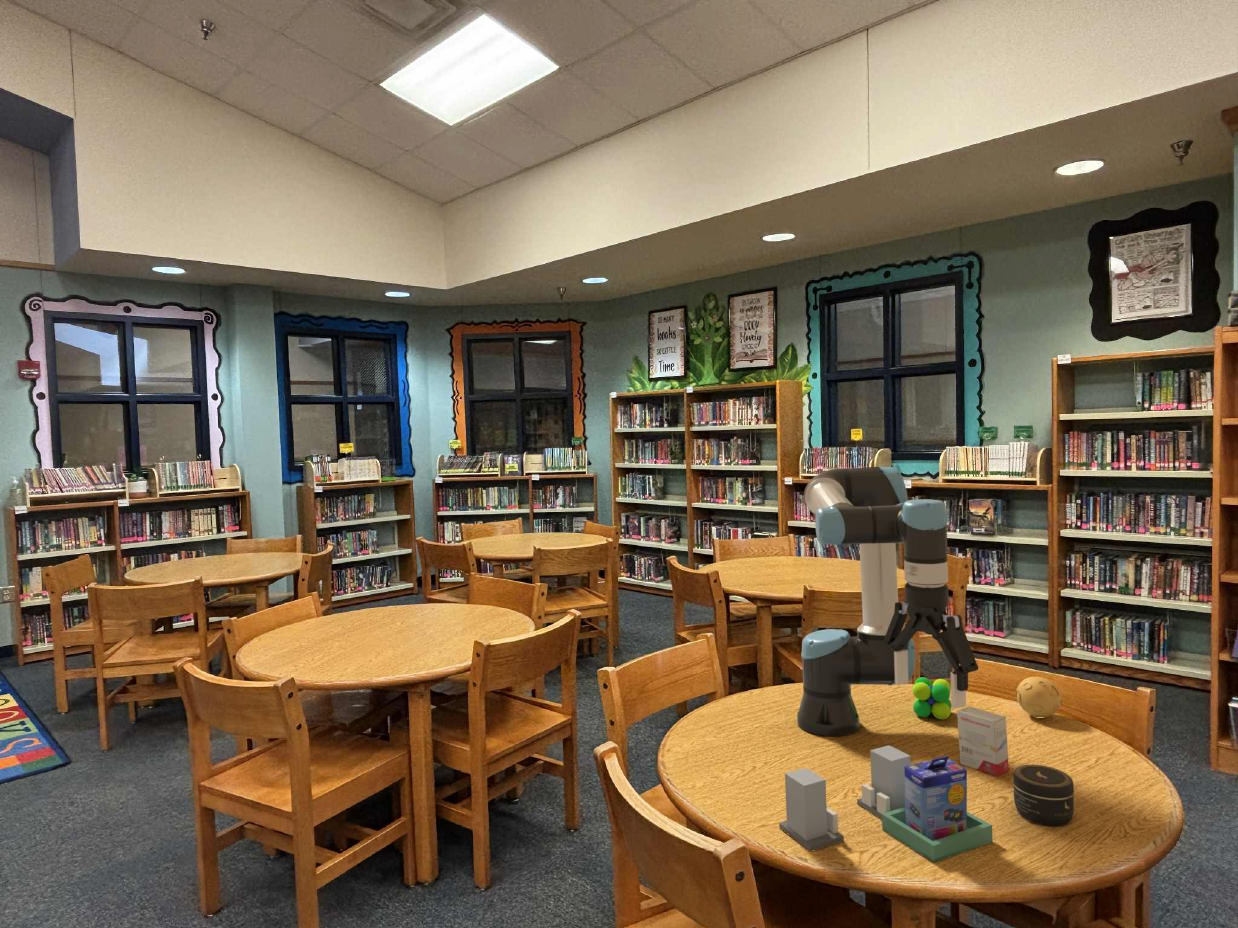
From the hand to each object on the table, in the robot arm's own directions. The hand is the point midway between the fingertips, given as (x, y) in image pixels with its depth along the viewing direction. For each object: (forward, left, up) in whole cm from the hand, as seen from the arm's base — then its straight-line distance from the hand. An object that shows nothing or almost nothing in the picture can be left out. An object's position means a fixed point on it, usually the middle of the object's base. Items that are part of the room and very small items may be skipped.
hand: (928, 694), depth 137 cm
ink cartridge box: (+5, -4, -23) cm, 24 cm away
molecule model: (-37, +40, -24) cm, 60 cm away
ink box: (-10, +26, -24) cm, 37 cm away
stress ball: (-23, +61, -24) cm, 70 cm away
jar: (+9, +19, -24) cm, 32 cm away
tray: (+5, -4, -24) cm, 24 cm away
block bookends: (-6, -14, -24) cm, 28 cm away
